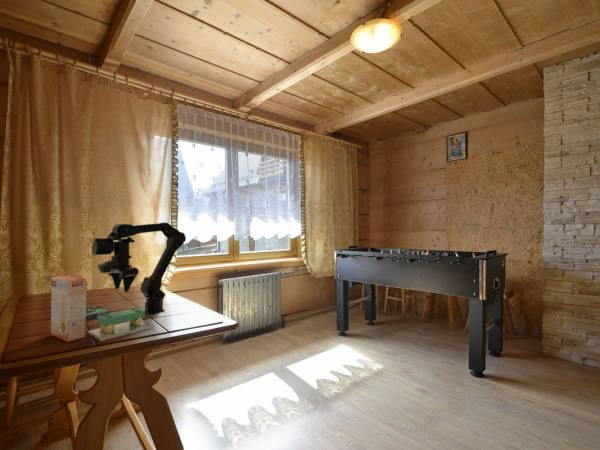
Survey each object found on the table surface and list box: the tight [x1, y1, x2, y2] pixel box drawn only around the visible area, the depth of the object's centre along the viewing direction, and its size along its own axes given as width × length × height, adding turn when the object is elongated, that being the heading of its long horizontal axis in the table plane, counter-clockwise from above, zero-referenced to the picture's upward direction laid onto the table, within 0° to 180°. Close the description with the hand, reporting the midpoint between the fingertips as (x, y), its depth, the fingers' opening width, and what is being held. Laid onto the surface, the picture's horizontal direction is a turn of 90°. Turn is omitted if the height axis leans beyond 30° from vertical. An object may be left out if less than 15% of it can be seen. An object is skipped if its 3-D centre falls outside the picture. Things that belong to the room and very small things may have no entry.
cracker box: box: [50, 275, 87, 343], centre depth 108 cm, size 14×6×21 cm, turn 57°
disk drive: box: [86, 305, 111, 322], centre depth 134 cm, size 10×3×15 cm
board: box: [96, 307, 146, 326], centre depth 114 cm, size 14×6×2 cm, turn 142°
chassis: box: [88, 317, 155, 342], centre depth 114 cm, size 18×12×6 cm, turn 141°
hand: (121, 290), depth 129 cm, fingers open, 9 cm apart
